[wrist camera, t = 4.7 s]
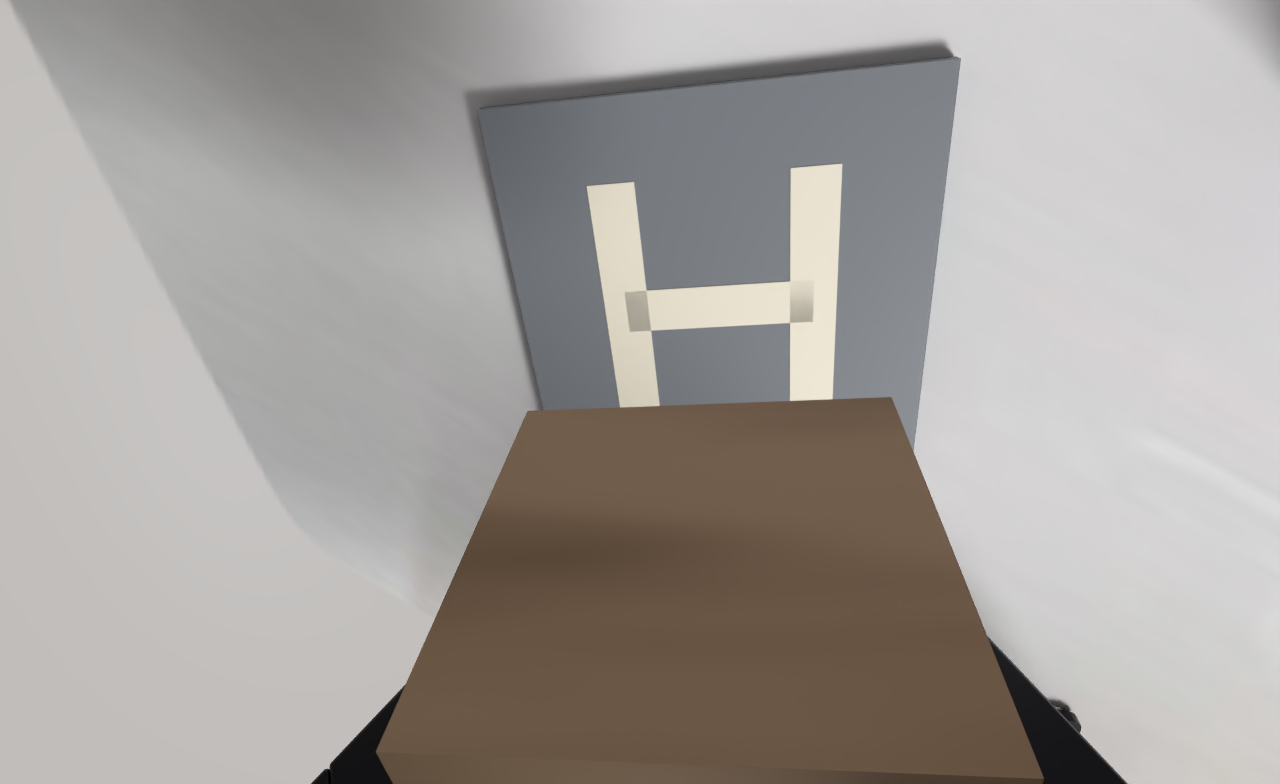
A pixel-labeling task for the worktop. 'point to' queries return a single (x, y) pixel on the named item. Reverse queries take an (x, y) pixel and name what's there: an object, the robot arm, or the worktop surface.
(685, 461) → the walnut block
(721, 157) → the letter card
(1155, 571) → the worktop surface
